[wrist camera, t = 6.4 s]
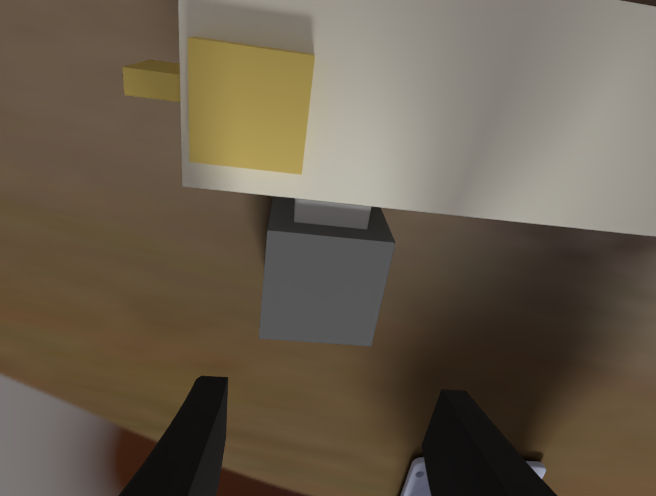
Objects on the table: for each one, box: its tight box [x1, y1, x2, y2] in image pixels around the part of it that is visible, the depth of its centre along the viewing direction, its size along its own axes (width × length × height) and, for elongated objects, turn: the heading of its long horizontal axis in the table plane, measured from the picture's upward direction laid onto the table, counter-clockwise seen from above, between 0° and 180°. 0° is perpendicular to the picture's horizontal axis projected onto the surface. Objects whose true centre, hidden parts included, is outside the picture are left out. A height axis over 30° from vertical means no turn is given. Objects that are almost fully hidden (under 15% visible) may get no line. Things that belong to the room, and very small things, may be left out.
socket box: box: [122, 0, 656, 237], centre depth 12 cm, size 5×19×7 cm, turn 82°
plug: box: [259, 196, 395, 346], centre depth 16 cm, size 5×4×4 cm
